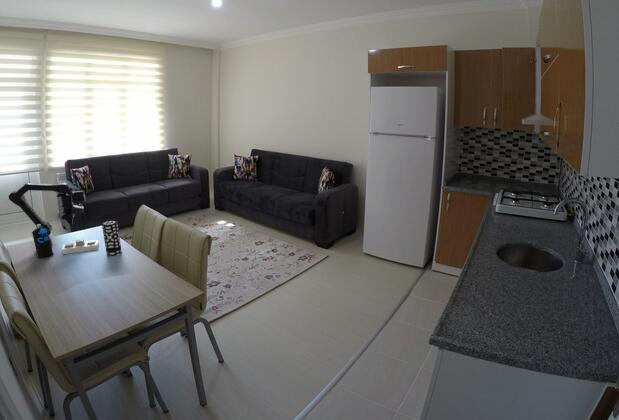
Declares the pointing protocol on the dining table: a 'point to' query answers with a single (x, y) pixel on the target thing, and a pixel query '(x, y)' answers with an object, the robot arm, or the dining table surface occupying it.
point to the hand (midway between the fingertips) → (71, 225)
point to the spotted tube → (111, 238)
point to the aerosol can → (42, 242)
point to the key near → (69, 245)
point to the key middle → (80, 242)
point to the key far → (91, 242)
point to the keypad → (80, 248)
